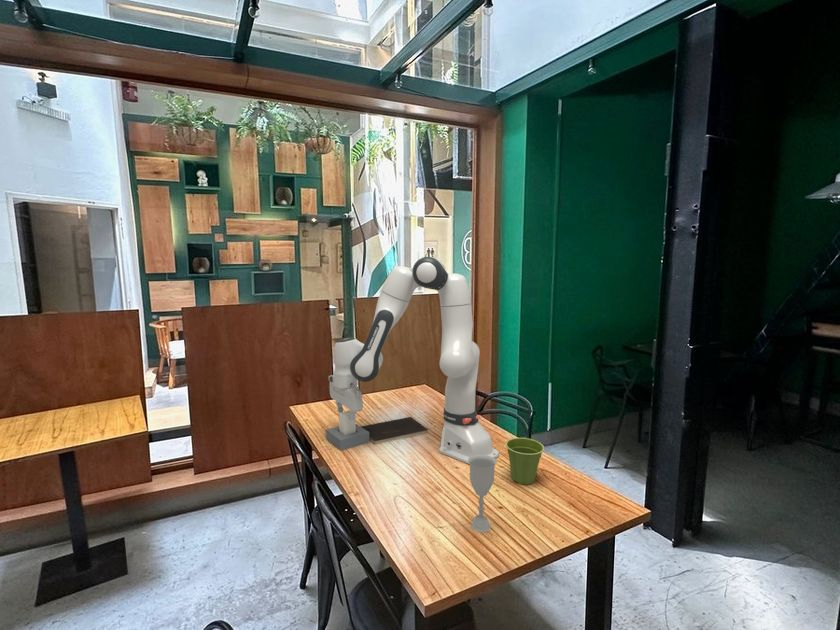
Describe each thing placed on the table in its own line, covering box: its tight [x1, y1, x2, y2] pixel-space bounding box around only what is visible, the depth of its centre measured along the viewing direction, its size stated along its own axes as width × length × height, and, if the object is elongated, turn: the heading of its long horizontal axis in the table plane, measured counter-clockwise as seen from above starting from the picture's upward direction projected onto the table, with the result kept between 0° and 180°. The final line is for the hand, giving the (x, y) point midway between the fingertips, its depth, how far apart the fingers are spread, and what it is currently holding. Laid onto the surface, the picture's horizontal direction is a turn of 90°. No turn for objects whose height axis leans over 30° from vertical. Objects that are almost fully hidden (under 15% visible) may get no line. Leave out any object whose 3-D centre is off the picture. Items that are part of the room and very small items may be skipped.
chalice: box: [468, 455, 497, 533], centre depth 111 cm, size 7×7×18 cm
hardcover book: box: [359, 416, 429, 445], centre depth 173 cm, size 16×23×2 cm
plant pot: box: [505, 437, 545, 485], centre depth 135 cm, size 12×12×11 cm
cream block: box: [338, 409, 357, 435], centre depth 163 cm, size 4×4×11 cm
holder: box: [325, 423, 370, 451], centre depth 164 cm, size 12×12×4 cm
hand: (346, 415), depth 163 cm, fingers open, 8 cm apart
